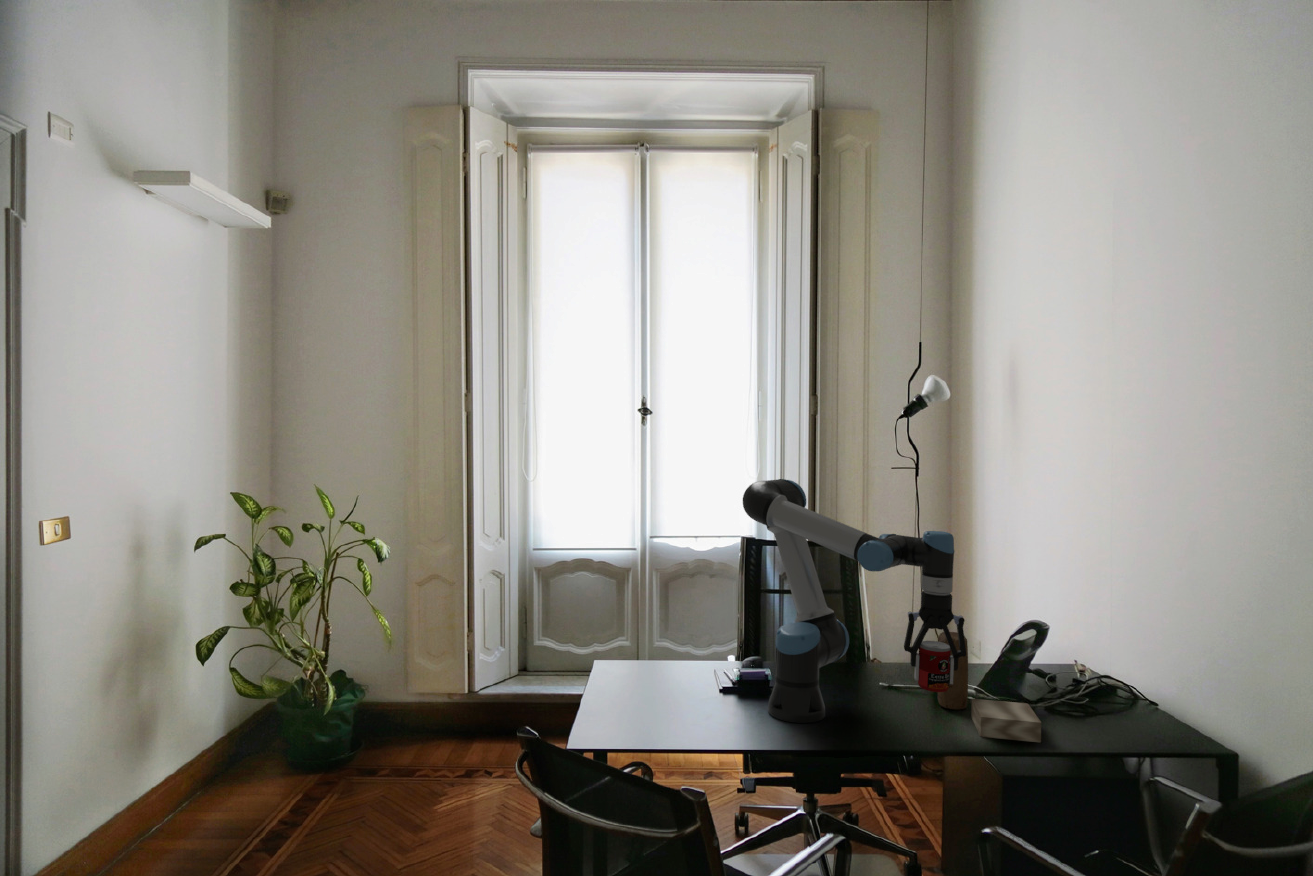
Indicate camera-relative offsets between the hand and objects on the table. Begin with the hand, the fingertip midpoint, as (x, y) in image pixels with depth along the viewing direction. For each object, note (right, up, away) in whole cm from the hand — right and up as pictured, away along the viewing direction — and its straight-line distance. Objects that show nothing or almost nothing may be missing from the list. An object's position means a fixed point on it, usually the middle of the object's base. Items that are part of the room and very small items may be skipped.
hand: (933, 680), depth 200 cm
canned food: (0, -2, 0) cm, 2 cm away
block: (+12, -13, +20) cm, 26 cm away
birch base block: (+19, -13, +2) cm, 23 cm away
